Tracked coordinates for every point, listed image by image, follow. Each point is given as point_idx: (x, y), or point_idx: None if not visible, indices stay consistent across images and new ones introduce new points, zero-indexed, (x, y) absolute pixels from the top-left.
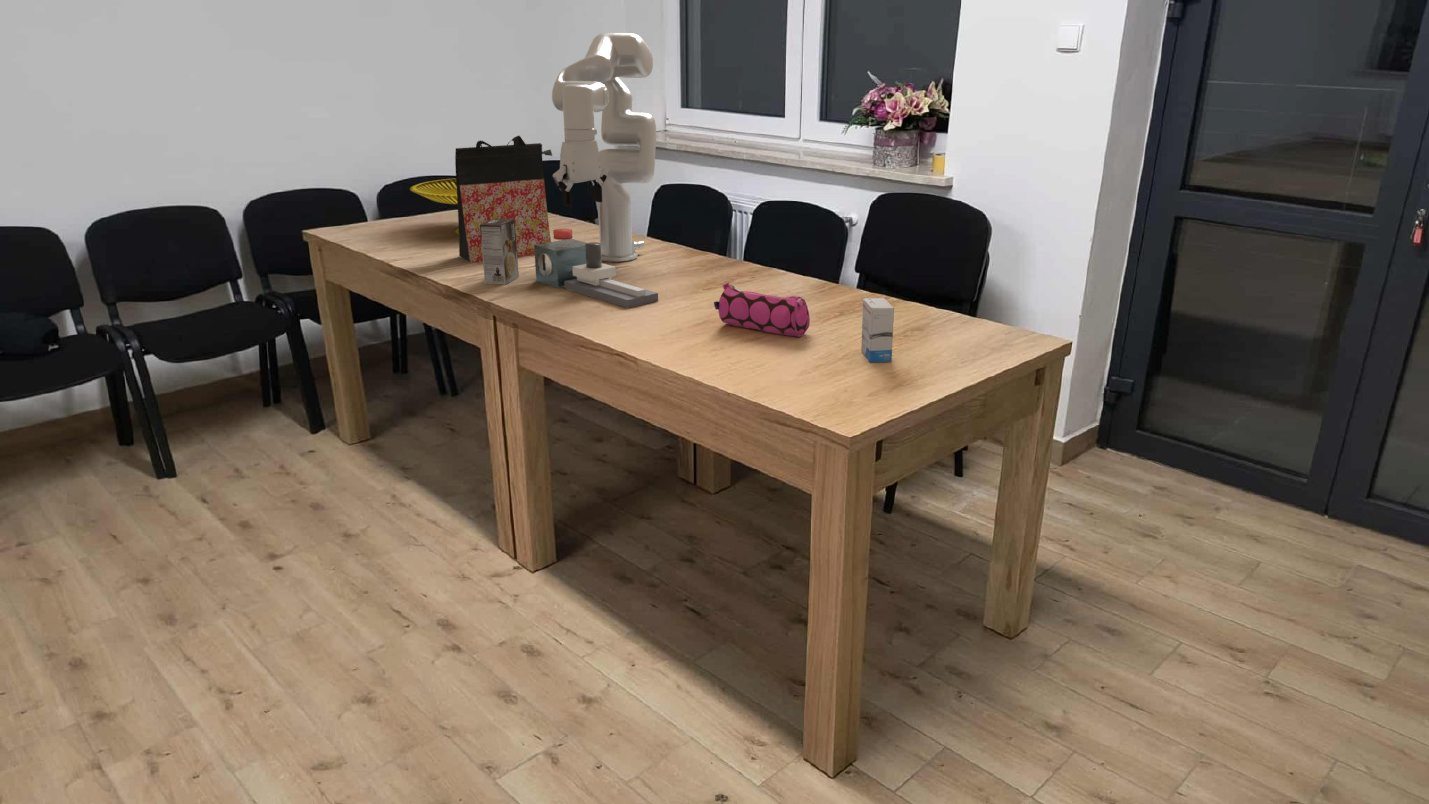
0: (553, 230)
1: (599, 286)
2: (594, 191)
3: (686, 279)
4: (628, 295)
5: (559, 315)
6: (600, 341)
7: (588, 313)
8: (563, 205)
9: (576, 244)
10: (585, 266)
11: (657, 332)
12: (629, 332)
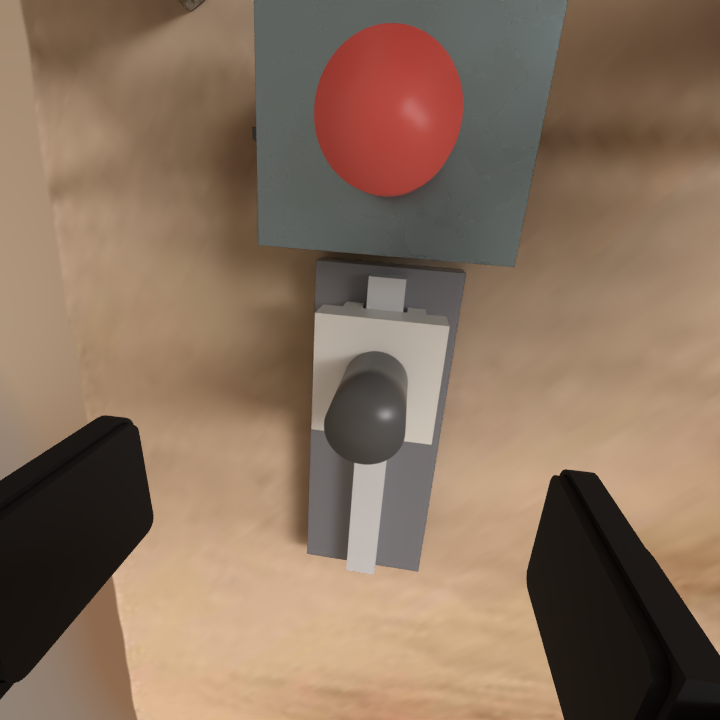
0: (334, 55)
1: None
2: (590, 621)
3: (694, 484)
4: (341, 530)
5: (146, 458)
6: (124, 620)
7: (211, 497)
8: (109, 419)
9: (446, 198)
10: (353, 353)
11: (238, 663)
12: (197, 629)
